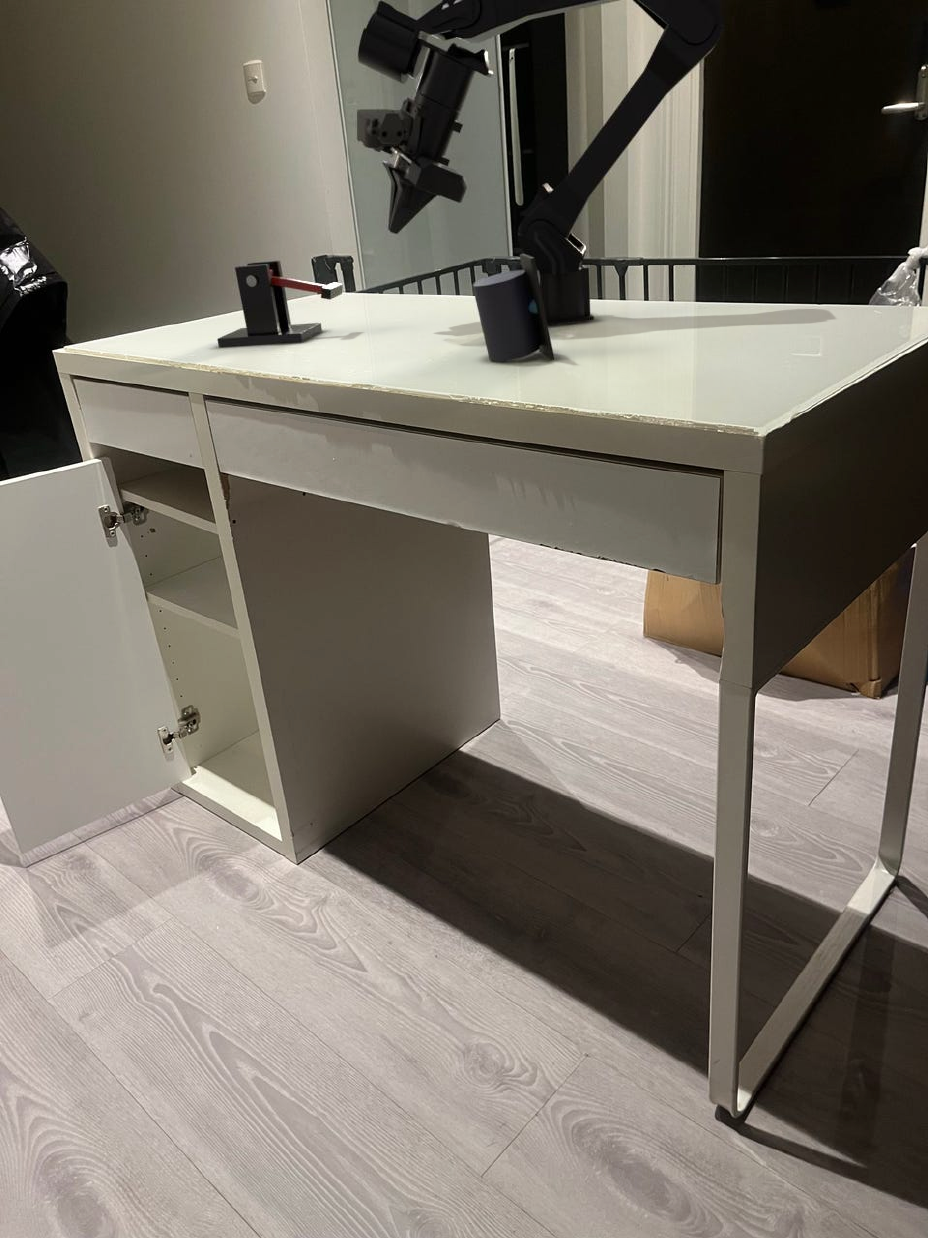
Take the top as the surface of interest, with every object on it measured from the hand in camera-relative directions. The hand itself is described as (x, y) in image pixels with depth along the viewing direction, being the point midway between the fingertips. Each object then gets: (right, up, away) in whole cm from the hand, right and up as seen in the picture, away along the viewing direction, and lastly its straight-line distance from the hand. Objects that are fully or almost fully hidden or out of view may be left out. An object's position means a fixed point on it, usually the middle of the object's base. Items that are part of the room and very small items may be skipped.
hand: (392, 232), depth 117 cm
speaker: (+15, -21, -17) cm, 31 cm away
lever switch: (-17, -11, +10) cm, 23 cm away
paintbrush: (-14, -5, +6) cm, 16 cm away
